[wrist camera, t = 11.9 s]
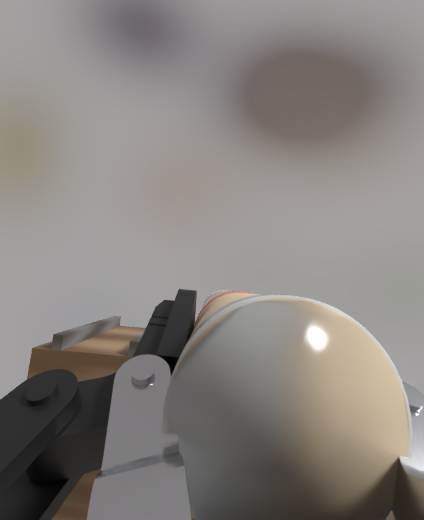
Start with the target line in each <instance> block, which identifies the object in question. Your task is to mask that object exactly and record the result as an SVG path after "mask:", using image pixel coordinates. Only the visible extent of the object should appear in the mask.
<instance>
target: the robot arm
mask: <svg viewBox="0 0 424 520" xmlns="http://www.w3.org/2000/svg"><path fill="white" fill-rule="evenodd" d="M196 295H197V292H196V291H194V290H183V289H179V290H178V293H177V296H176V299H175V301H170V300H164V301H163V302H161V303H160V304H159V305H158V306H157V307H156V308H155V310H154V312H153V314H152V317H151V319H150V321H149V323H148V325H147V327H146V329H145V331H144V334H143V336H142V338H141V340H140V342H139V344H138V346H137V349H136V351H135V353H134V355H133V357H132V358H131V359H129V360H128V361H126V362H125V363H124V364H123V365H122V366H121V367H120V368H119V369H118V371H117V372H115V373H113V374H111V375H108V376H105V377H101V378H95V379H90V380H84V381H79V382H78V380H77V377H76V376H75V374H74V373H72V372H71V371H68V370H65V369H53V370H48V371H44V372H42V373H39V374H37V375H35V376H32V377H31V378H29V379H27V380H26V381H24V382H23V383H21V384H20V385H19V386H18V387H16V388H15V389H14V390H13V391H11V392H10V393H9V394H8V395H6V396H5V397H3V398H2V399H1V400H0V520H52V518H53V517H54V516H55V514H56V513H57V511H58V510H59V508H60V507H61V506H62V504H63V503H64V501H65V500H66V498H67V497H68V496H69V494H70V493H71V491H72V490H73V489H74V487H75V486H76V484H77V483H78V481H79V480H80V479H81V477H82V476H83V474H85V473H89V472H92V471H95V470H99V469H101V471H100V473H99V474H97V476H96V478H95V481H94V484H93V488H92V493H91V497H90V503H89V509H88V515H87V520H191V513H190V505H189V497H188V489H187V482H186V474H185V467H184V461H183V457H182V454H181V453H180V450H179V443H178V435H177V434H169V433H163V432H162V422H163V408H164V402H165V396H166V392H167V388H168V385H169V381H170V378H171V375H172V373H173V371H174V369H175V366H176V364H177V362H178V360H179V357H180V355H181V353H182V351H183V349H184V347H185V345H186V343H187V342H188V340H189V338H190V337H191V334H192V332H193V330H194V324H195V310H196V309H195V308H196ZM402 383H403V386H404V389H405V392H406V395H407V398H408V403H409V408H410V413H411V421H412V433H413V434H412V453H411V458H410V457H400V456H399V461H398V469H397V476H396V483H395V491H394V501H393V505H392V510H391V512H390V513H389V515H388V517H387V518H386V519H385V520H424V394H423V393H421V392H420V391H419V390H417V389H416V388H414V387H412V386H411V385H409V384H407V383H405V382H402Z"/></svg>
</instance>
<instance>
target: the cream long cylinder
mask: <svg viewBox="0 0 424 520" xmlns="http://www.w3.org/2000/svg"><path fill="white" fill-rule="evenodd" d="M162 432H163V433H169V434H177V435H178V443H179V450H180V453H181V454H182V457H183V461H184V467H185V474H186V482H187V489H188V497H189V505H190V513H191V515H192V516H193V517H194V518H195V519H196V520H385V519H386V518H387V517H388V515H389V513H390V512H391V510H392V505H393V501H394V491H395V483H396V476H397V469H398V461H399V456H400V457H410V458H411V453H412V434H413V433H412V421H411V413H410V408H409V403H408V398H407V395H406V392H405V389H404V386H403V383H402V381H401V378H400V376H399V374H398V372H397V370H396V368H395V366H394V364H393V362H392V361H391V359H390V358H389V356H388V354H387V353H386V351H385V350H384V349H383V347H382V346H381V345H380V344H379V342H378V341H377V340H376V339H375V338H374V337H373V336H372V335H371V334H370V333H369V332H368V331H367V330H366V329H365V328H364V327H363V326H362V325H361V324H359V323H358V322H357V321H355V320H354V319H353V318H351V317H350V316H348V315H347V314H345V313H343V312H342V311H340V310H338V309H336V308H334V307H332V306H329V305H327V304H325V303H322V302H319V301H315V300H312V299H309V298H303V297H296V296H287V295H269V294H265V295H257V294H251V293H247V292H239V291H226V290H221V291H217V292H214V293H212V294H211V295H210V296H209V297H208V298H207V299H206V300H205V302H204V304H203V307H202V310H201V311H200V313H199V316H198V318H197V320H196V322H195V326H194V330H193V332H192V334H191V337H190V338H189V340H188V342H187V343H186V345H185V347H184V349H183V351H182V353H181V355H180V357H179V360H178V362H177V364H176V366H175V369H174V371H173V373H172V375H171V378H170V381H169V385H168V388H167V392H166V396H165V402H164V408H163V422H162Z"/></svg>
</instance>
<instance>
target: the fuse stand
mask: <svg viewBox="0 0 424 520" xmlns="http://www.w3.org/2000/svg"><path fill="white" fill-rule="evenodd" d="M120 318H121V317H118V316H114V317H111V318H107V319H104V320H100V321H97V322H93V323H91V324H87V325H83V326H80V327H77V328H73V329H70V330H67V331H63V332H60V333H57V334H54V335H53V341H52V342H49V343H46V344H43V345H40V346H37V347H34V348H32V354H31V359H30V365H29V371H28V377H27V379H29V378H31V377H32V376H35V375H37V374H39V373H42V372H44V371H48V370H53V369H65V370H68V371H71V372H72V373H74V374H75V376H76V377H77V380H78V382H79V381H84V380H90V379H95V378H101V377H105V376H108V375H111V374H113V373H115V372H117V371H118V369H119V368H120V367H121V366H122V365H123V364H124V363H125V362H126V361H128V360H129V359H131V358H132V357H133V355H134V353H135V351H136V349H137V346H138V344H139V342H140V340H141V338H142V336H143V334H144V331H145V329H146V328H137V327H126V326H119V325H120ZM100 471H101V469H99V470H95V471H92V472H89V473H85V474H83V476H82V477H81V479H80V480H79V481H78V483H77V484H76V486H75V487H74V489H73V490H72V491H71V493H70V494H69V496H68V497H67V498H66V500H65V501H64V503H63V504H62V506H61V507H60V508H59V510H58V511H57V513H56V514H55V516H54V517H53V518H52V520H87V515H88V509H89V503H90V497H91V493H92V488H93V484H94V481H95V478H96V476H97V474H99V473H100ZM191 520H196V519H195V518H194V517H193V516H192V515H191Z"/></svg>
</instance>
